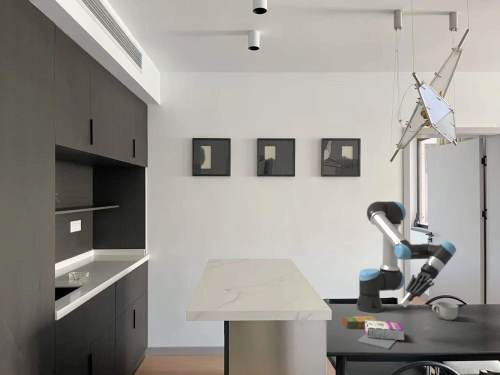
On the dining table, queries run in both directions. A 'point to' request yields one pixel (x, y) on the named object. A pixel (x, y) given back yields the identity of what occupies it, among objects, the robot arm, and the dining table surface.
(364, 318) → the carton
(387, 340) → the mat
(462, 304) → the dining table surface
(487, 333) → the dining table surface
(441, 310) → the teacup
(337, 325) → the dining table surface
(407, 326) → the dining table surface
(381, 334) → the candy bar box
